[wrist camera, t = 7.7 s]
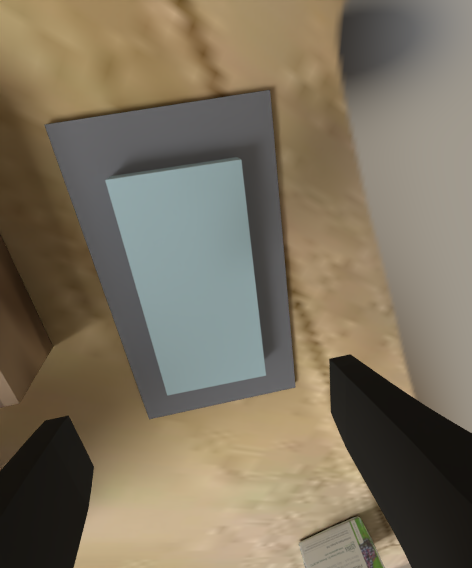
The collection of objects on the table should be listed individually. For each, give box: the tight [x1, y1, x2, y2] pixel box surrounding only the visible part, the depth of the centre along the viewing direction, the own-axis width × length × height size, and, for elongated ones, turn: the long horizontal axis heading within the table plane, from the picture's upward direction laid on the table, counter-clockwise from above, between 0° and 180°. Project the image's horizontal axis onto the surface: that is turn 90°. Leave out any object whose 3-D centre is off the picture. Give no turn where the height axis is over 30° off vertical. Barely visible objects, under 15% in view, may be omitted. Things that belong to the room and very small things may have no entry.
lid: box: [105, 157, 266, 396], centre depth 16 cm, size 11×5×1 cm, turn 7°
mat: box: [45, 90, 295, 419], centre depth 17 cm, size 16×9×1 cm, turn 8°
